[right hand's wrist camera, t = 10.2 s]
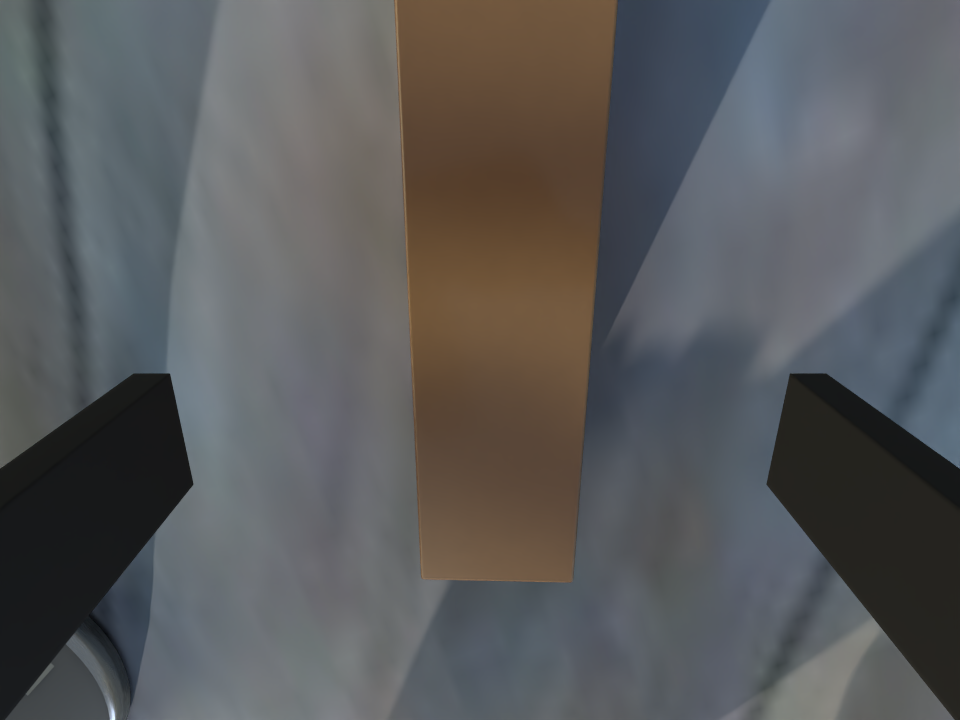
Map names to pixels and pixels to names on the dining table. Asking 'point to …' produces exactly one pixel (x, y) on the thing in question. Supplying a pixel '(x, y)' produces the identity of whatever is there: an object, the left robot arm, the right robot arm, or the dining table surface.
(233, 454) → the dining table surface
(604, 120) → the bar
